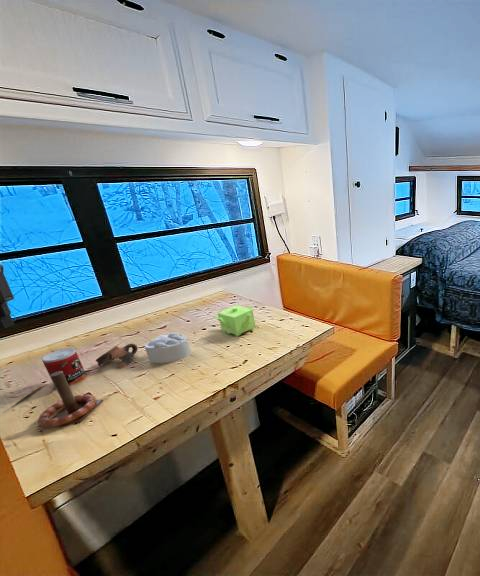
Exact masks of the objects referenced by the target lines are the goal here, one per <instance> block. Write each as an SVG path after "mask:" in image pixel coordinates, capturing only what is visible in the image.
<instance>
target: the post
mask: <svg viewBox="0 0 480 576" xmlns="http://www.w3.org/2000/svg"><path fill="white" fill-rule="evenodd" d="M49 377H50V379H52V380H51V381H53V382H52V384H53V383H54V384H53V386H54V385H55V386H54V387H55V389H56V391H57V393H58V395H59V398H60V400H61V401H62V402H63V404H64V406H65V407H63V408H61V409H60V411H59V410H58V411H57V413H56V414H55V415H53V416H52V417H50V419H55V418H61V417H64V416H66V415H69V414H72V413H74V412H75V411H77V410H79V409H81V408H82V407H83V406H84V405H85V404H86V402H76V399H75V397H74V396H75V395H74V393H73V390H72V389H71V387H70V386H69V384H68V382H67V380H66V378H65V376H64V374H63V372H62V371H58V372H55V373H52V374H51V375H49ZM103 402H104V399H103V398H100V399H96V404H95V406H94V407H93V408H92V409H91V410H90V411H89V412H88V413H86V414H85V415H83V416H81V417H79V418H78V419H76V420H74V421H71V422H69V423H66V424H63V425H62V426H64V425H67V426H68V425H75V424H81V423H82V422H83V421H84V420H85V419H86V418H87V417H88V416H89V415H91V413H92V412H94V410H95V409H96V408H98V407H99V405H101V404H102V403H103ZM42 427H43V428H45V427H44V426H42Z"/></svg>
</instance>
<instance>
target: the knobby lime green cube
mask: <svg viewBox="0 0 480 576" xmlns="http://www.w3.org/2000/svg"><path fill="white" fill-rule="evenodd" d="M217 316H218V317H216V318H214V321H219V325H220V329H221V331H223V332H226V333H227V335H228V334H229V335H230V334H233V335H234V336H235V337H240V336H242V334H243V333H245V332H247V331H251V330H252V329H253V328H255V327H256V321H255V316H254V310H253V306H247V307H243V306H240V305H234V306H231V307H229V308H227V309H223V310H221V311H220V312H217Z"/></svg>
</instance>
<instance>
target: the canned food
mask: <svg viewBox="0 0 480 576" xmlns="http://www.w3.org/2000/svg"><path fill="white" fill-rule="evenodd" d="M41 361H42V363H43V365H44V368H45V369H46V371H47V373H48V376H50V375H51V374H52V373H55V372H58V371H62V372H63V374H64V376H65V378H66V380H67V382H68V384H69V387H70V386H72V385H75V384H78V383H79V382H81V381H83V380H84V379H86V377H87V374H86V372H85V369H84V366H83V364H82V361H81V359H80V357H79V355H78V352H77V350H76V349H75V348H73V347H72V348H71V347H67V348H61V349H58V350H55V351H52V352H50V353H47V354H46V355H44V356H43V357H42V358H41ZM50 379H51V378H50ZM51 381H52V379H51ZM52 384H53V386H54V387H55V385H54V383H53V381H52Z"/></svg>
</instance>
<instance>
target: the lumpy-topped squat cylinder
mask: <svg viewBox="0 0 480 576" xmlns="http://www.w3.org/2000/svg"><path fill="white" fill-rule="evenodd" d="M188 341H189V340H188V338H187V336H186V335H184V334H180V333H178V332H175V331H173V332H170V333H168V334H159V335H158V336H156V337H155V338H153V339H152V340H150V341H149V342H148V343H146V344H145V345H144V349H145V352H146V355H147V358H148V360H149V363H150V364H170V363H174V362H177V361H180V360H183V359H185V358H188V357H189V356H190V355H191V353H192V352H191V347H190V345H189V342H188Z"/></svg>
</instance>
